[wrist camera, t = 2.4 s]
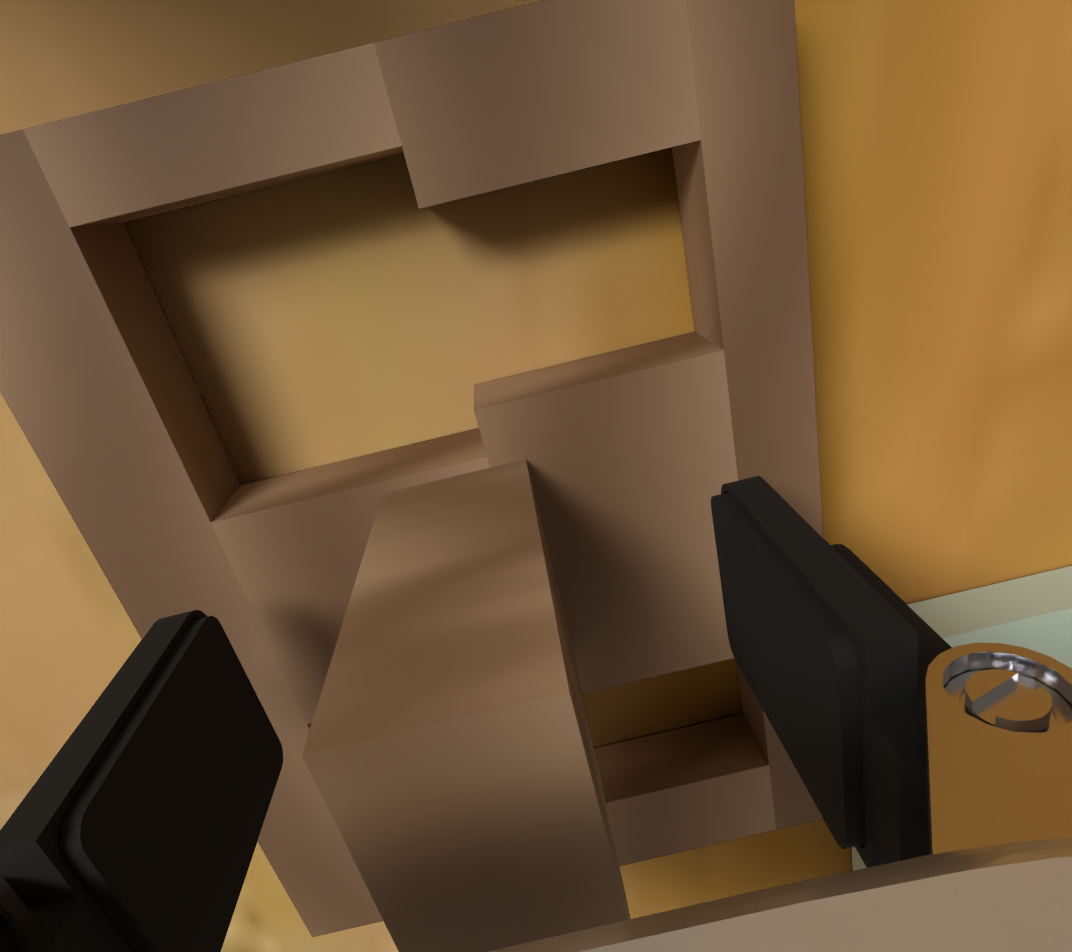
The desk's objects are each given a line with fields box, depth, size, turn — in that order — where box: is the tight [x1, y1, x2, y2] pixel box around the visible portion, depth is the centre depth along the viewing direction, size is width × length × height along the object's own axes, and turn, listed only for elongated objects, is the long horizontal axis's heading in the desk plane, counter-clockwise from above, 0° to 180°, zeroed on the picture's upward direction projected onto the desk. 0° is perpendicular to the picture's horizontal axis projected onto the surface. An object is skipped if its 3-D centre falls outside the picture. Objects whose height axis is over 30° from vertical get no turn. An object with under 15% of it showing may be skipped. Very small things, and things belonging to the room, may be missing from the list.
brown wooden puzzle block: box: [0, 0, 823, 952], centre depth 10 cm, size 12×16×7 cm
